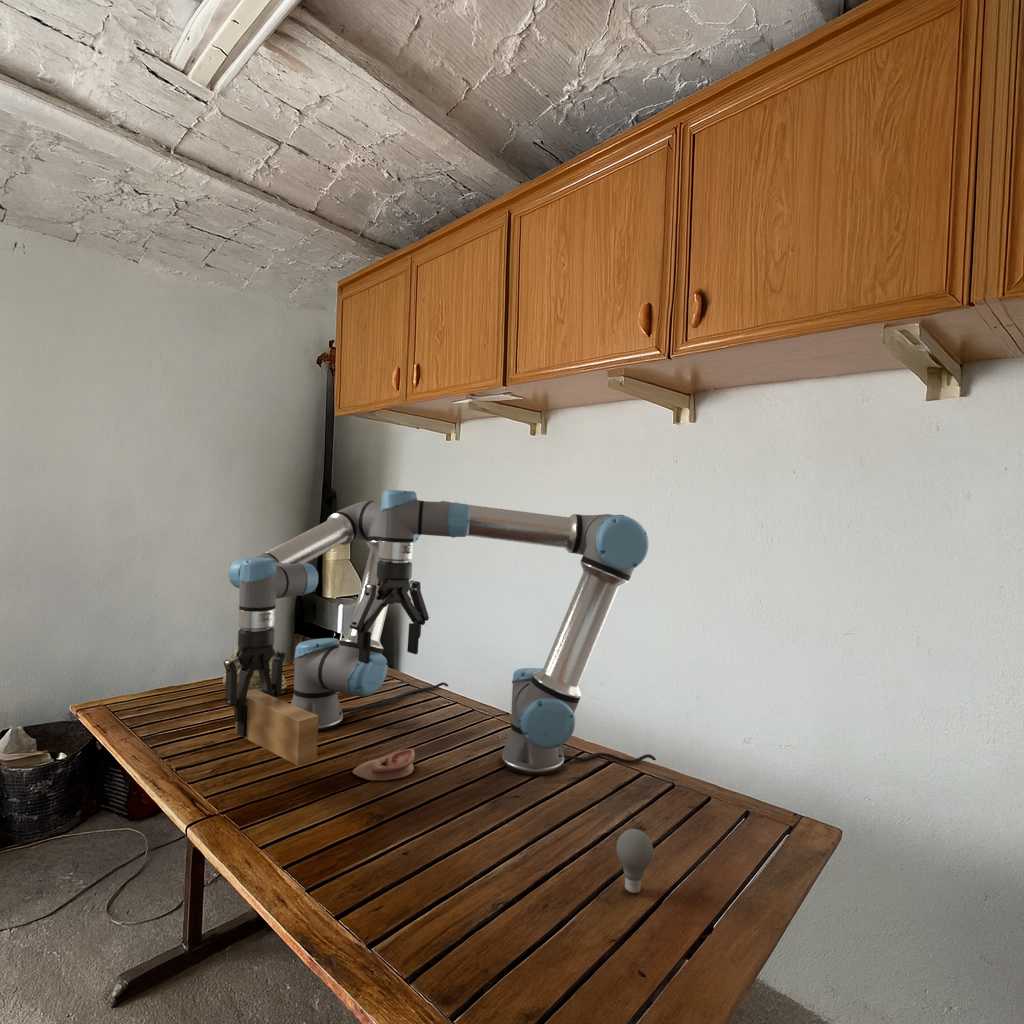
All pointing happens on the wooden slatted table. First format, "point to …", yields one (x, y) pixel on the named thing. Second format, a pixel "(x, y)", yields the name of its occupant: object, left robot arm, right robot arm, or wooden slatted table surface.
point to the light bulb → (634, 857)
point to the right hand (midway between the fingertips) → (389, 657)
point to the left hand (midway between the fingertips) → (252, 731)
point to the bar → (281, 727)
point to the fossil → (255, 679)
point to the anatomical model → (387, 766)
